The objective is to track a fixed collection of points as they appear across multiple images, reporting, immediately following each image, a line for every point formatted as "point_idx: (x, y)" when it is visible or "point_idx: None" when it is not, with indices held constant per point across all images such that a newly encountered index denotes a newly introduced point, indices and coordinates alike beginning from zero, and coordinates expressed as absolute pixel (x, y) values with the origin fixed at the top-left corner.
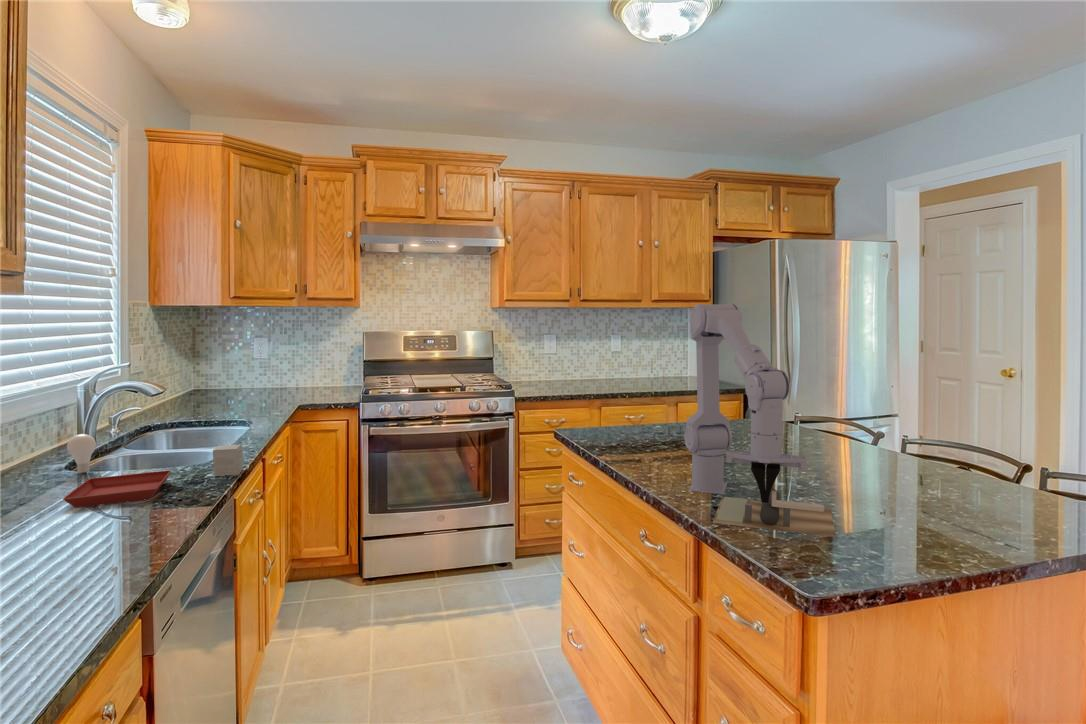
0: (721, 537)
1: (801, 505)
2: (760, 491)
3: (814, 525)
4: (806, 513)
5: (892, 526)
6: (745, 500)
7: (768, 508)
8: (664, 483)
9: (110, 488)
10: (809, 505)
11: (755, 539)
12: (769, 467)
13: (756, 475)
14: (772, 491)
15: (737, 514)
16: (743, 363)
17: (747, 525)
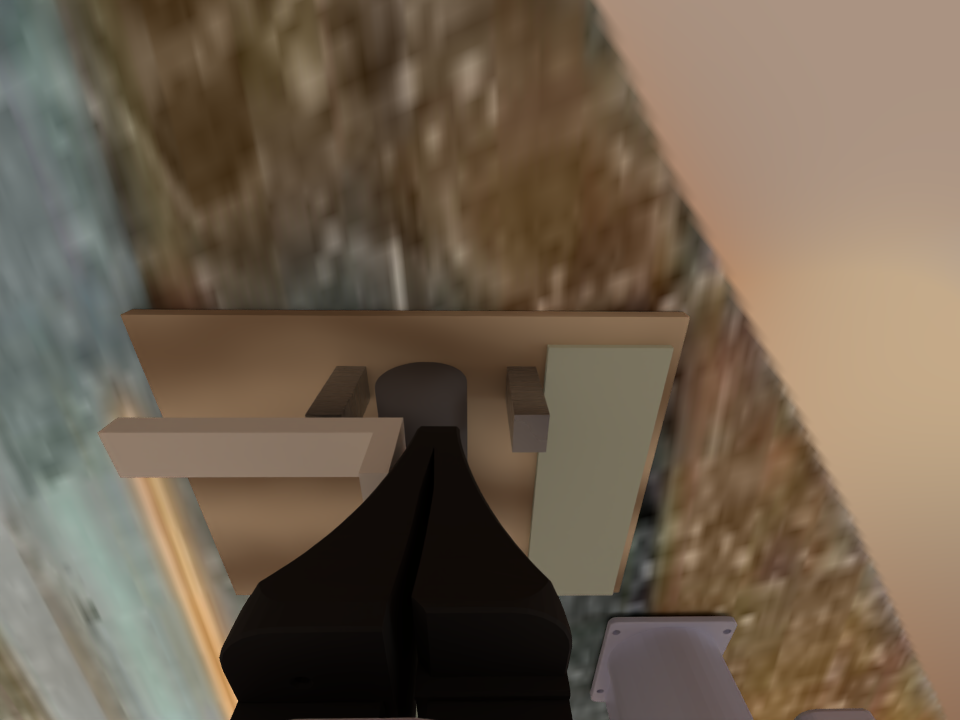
0: (655, 145)
1: (226, 432)
2: (463, 464)
3: None
4: (303, 532)
5: (10, 518)
6: None
7: (421, 406)
8: (802, 661)
9: None
10: (183, 443)
11: (480, 181)
12: (353, 686)
13: (500, 556)
14: None
15: (568, 435)
16: None
17: (523, 327)
